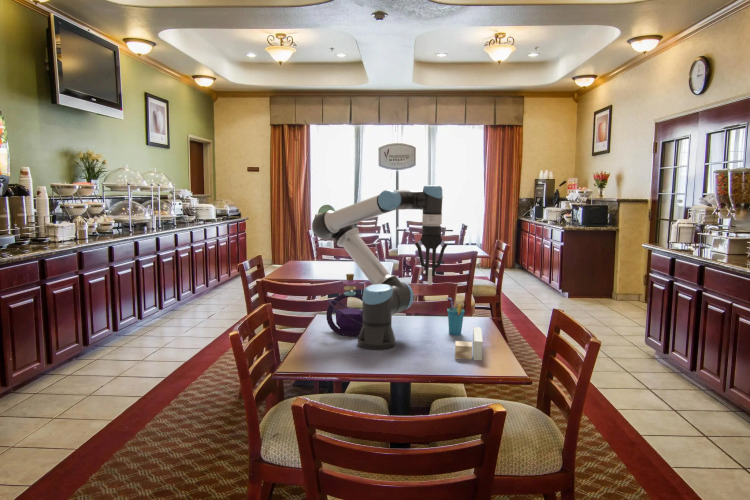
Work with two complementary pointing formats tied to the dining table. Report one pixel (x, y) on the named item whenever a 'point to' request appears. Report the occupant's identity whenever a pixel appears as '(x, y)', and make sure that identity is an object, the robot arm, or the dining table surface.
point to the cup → (455, 319)
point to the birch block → (463, 350)
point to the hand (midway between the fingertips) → (429, 284)
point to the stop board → (477, 343)
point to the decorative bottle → (346, 312)
